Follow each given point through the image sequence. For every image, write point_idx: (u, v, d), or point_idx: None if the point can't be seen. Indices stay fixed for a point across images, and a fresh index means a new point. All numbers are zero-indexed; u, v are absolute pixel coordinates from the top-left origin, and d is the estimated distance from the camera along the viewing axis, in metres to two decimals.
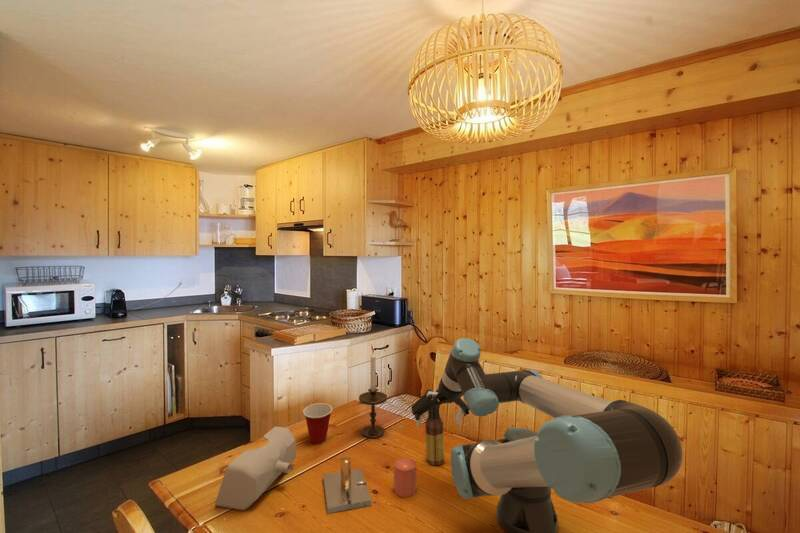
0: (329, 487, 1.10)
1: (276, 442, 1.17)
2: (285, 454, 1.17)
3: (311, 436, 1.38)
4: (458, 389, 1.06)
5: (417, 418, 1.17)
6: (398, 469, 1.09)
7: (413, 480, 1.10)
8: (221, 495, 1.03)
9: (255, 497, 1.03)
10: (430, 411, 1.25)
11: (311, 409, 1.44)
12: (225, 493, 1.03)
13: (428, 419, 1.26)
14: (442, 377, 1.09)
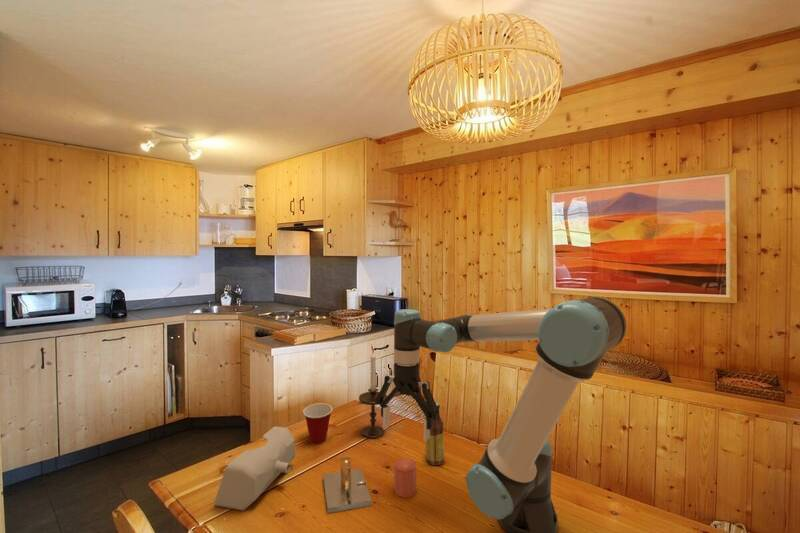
0: (329, 487, 1.10)
1: (275, 442, 1.17)
2: (284, 454, 1.17)
3: (311, 436, 1.38)
4: (399, 360, 1.07)
5: (382, 414, 1.14)
6: (398, 469, 1.09)
7: (413, 480, 1.10)
8: (220, 495, 1.03)
9: (254, 497, 1.03)
10: None
11: (311, 409, 1.44)
12: (224, 493, 1.03)
13: None
14: None
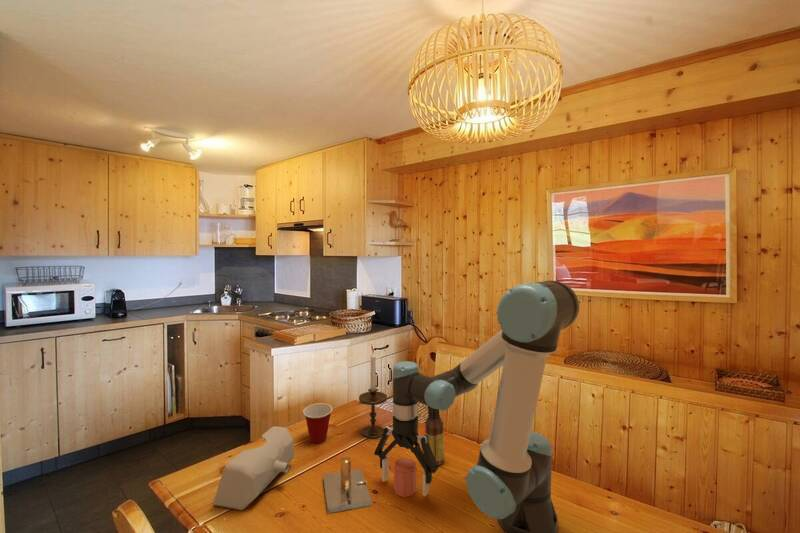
0: (329, 487, 1.10)
1: (274, 442, 1.17)
2: (283, 454, 1.18)
3: (311, 436, 1.38)
4: (398, 415, 1.08)
5: (381, 465, 1.15)
6: (398, 469, 1.09)
7: (413, 480, 1.10)
8: (219, 494, 1.03)
9: (253, 497, 1.03)
10: (430, 411, 1.25)
11: (311, 409, 1.44)
12: (223, 493, 1.03)
13: (428, 419, 1.26)
14: None
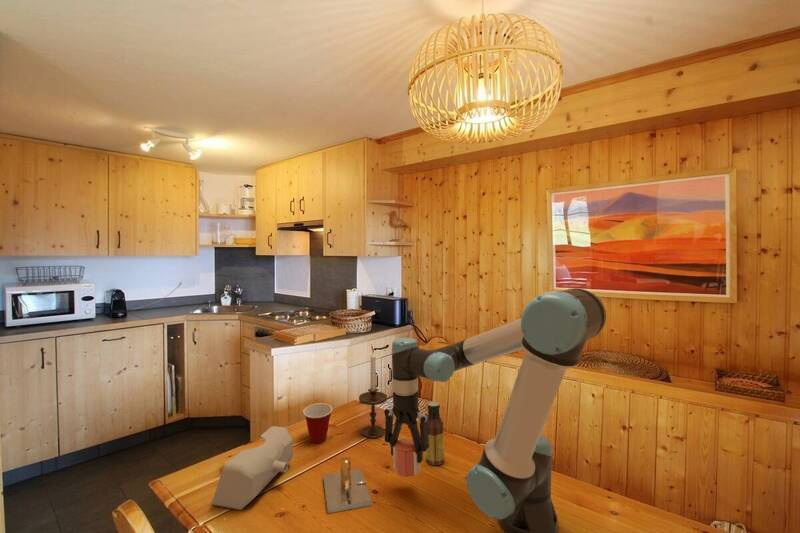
0: (329, 487, 1.10)
1: (273, 442, 1.17)
2: (282, 454, 1.18)
3: (311, 436, 1.38)
4: (398, 390, 1.07)
5: (392, 452, 1.12)
6: (399, 448, 1.08)
7: None
8: (217, 494, 1.03)
9: (252, 496, 1.03)
10: (430, 411, 1.25)
11: (311, 409, 1.44)
12: (222, 492, 1.03)
13: (428, 419, 1.26)
14: None
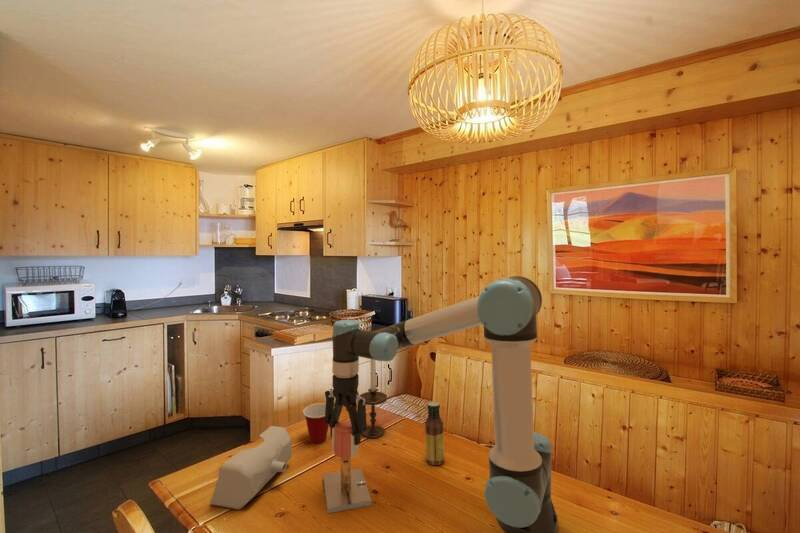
0: (329, 487, 1.10)
1: (272, 441, 1.17)
2: (281, 453, 1.18)
3: (311, 436, 1.38)
4: (336, 372, 1.06)
5: (331, 434, 1.12)
6: (337, 430, 1.08)
7: None
8: (216, 494, 1.04)
9: (250, 496, 1.03)
10: (430, 411, 1.25)
11: (311, 409, 1.44)
12: (220, 492, 1.03)
13: (428, 419, 1.26)
14: None
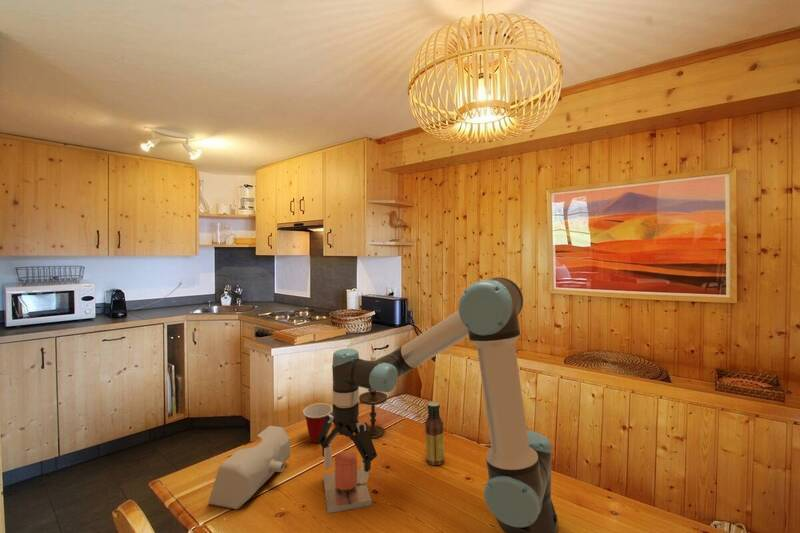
0: (329, 487, 1.10)
1: (270, 441, 1.17)
2: (279, 453, 1.18)
3: (311, 436, 1.38)
4: (336, 402, 1.07)
5: (323, 454, 1.14)
6: (337, 462, 1.08)
7: (353, 473, 1.09)
8: (214, 494, 1.04)
9: (248, 496, 1.03)
10: (430, 411, 1.25)
11: (311, 409, 1.44)
12: (218, 492, 1.03)
13: (428, 419, 1.26)
14: None
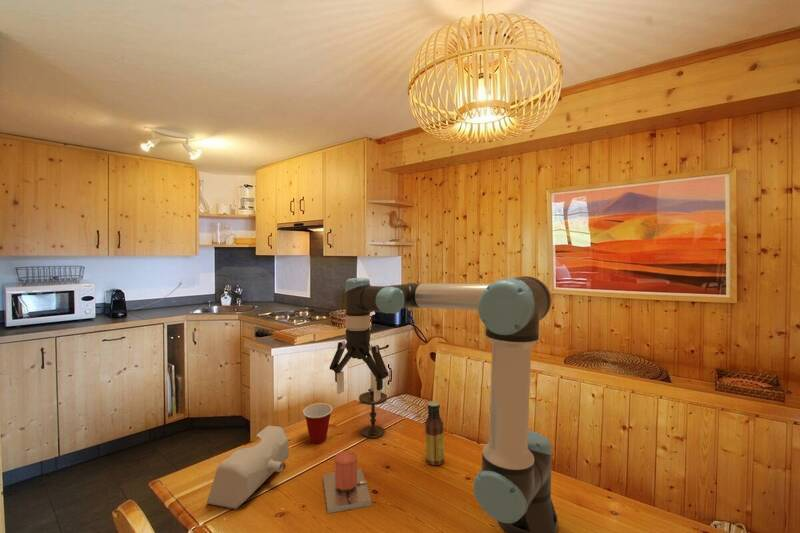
0: (329, 487, 1.10)
1: (269, 441, 1.17)
2: (278, 453, 1.18)
3: (311, 436, 1.38)
4: (350, 325, 1.13)
5: (336, 379, 1.20)
6: (337, 462, 1.08)
7: (353, 473, 1.09)
8: (212, 493, 1.04)
9: (246, 495, 1.03)
10: (430, 411, 1.25)
11: (311, 409, 1.44)
12: (217, 491, 1.04)
13: (428, 419, 1.26)
14: None
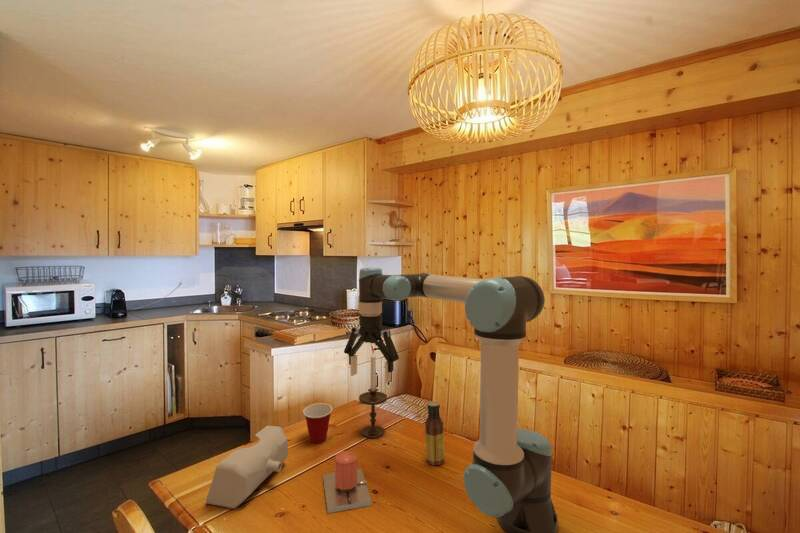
0: (329, 487, 1.10)
1: (267, 441, 1.17)
2: (276, 453, 1.18)
3: (311, 436, 1.38)
4: (363, 311, 1.21)
5: (350, 362, 1.28)
6: (337, 462, 1.08)
7: (353, 473, 1.09)
8: (211, 493, 1.04)
9: (245, 495, 1.03)
10: (430, 411, 1.25)
11: (311, 409, 1.44)
12: (215, 491, 1.04)
13: (428, 419, 1.26)
14: None
